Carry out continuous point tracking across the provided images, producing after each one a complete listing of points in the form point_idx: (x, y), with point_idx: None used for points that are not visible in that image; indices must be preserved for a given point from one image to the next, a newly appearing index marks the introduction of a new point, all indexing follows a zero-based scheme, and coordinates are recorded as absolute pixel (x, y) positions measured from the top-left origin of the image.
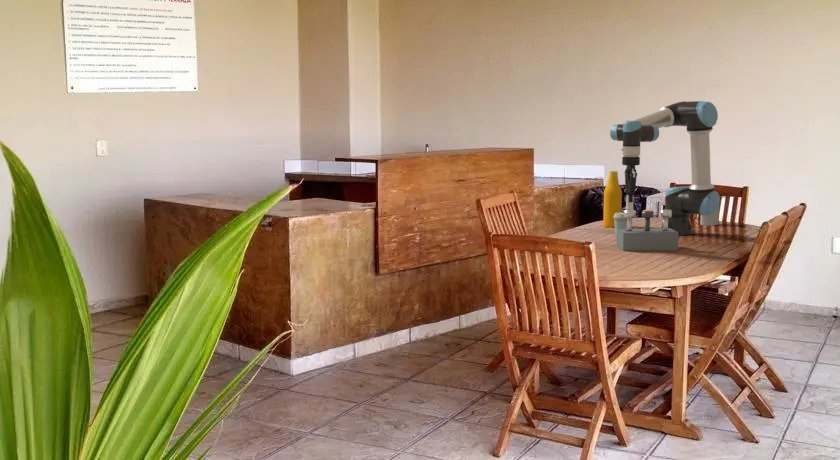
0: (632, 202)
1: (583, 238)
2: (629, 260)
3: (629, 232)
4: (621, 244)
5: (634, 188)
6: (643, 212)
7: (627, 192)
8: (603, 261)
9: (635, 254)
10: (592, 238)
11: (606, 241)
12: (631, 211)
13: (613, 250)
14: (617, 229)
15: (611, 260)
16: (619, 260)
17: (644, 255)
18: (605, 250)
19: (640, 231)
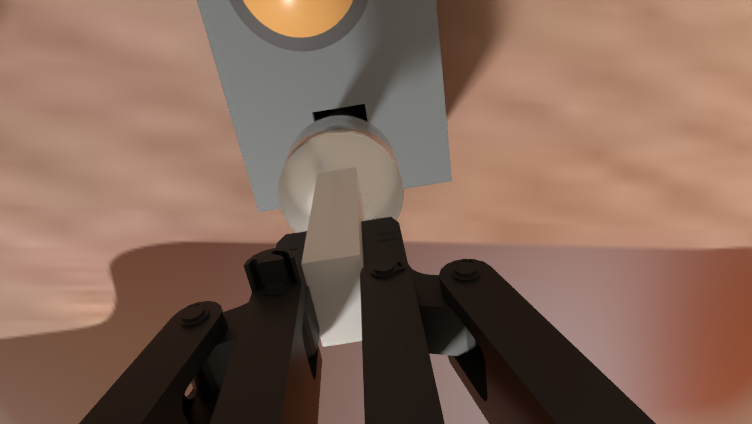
0: (360, 212)
1: (31, 322)
2: (719, 129)
3: (431, 139)
4: None
5: (548, 338)
6: (342, 36)
7: (321, 364)
8: (716, 246)
9: (545, 81)
10: (10, 282)
11: (98, 214)
12: (402, 182)
13: (413, 191)
14: (267, 209)
15: (699, 213)
16: (708, 177)
17: (583, 30)
18: (415, 229)
19: (373, 48)
